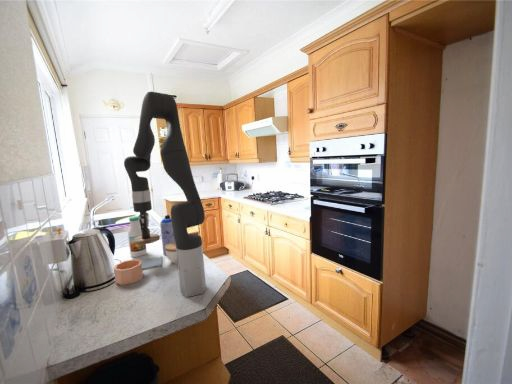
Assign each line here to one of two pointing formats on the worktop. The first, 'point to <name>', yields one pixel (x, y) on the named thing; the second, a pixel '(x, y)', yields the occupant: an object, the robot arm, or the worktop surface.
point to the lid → (150, 239)
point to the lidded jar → (171, 252)
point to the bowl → (128, 271)
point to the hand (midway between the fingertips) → (146, 236)
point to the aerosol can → (166, 232)
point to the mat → (152, 263)
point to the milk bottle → (133, 233)
